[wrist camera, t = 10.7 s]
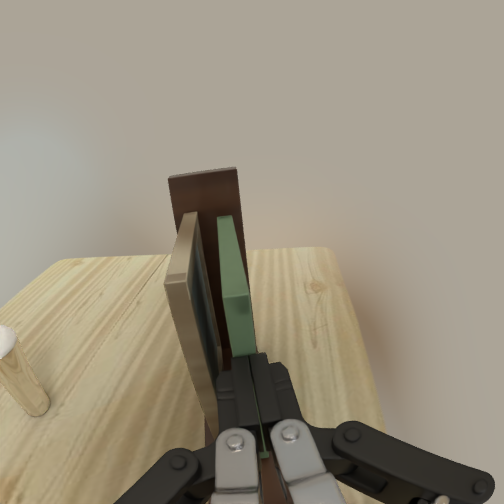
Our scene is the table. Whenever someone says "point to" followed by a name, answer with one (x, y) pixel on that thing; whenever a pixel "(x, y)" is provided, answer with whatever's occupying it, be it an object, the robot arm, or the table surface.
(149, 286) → the table surface
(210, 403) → the window frame
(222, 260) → the panel
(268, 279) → the table surface
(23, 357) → the milkshake
